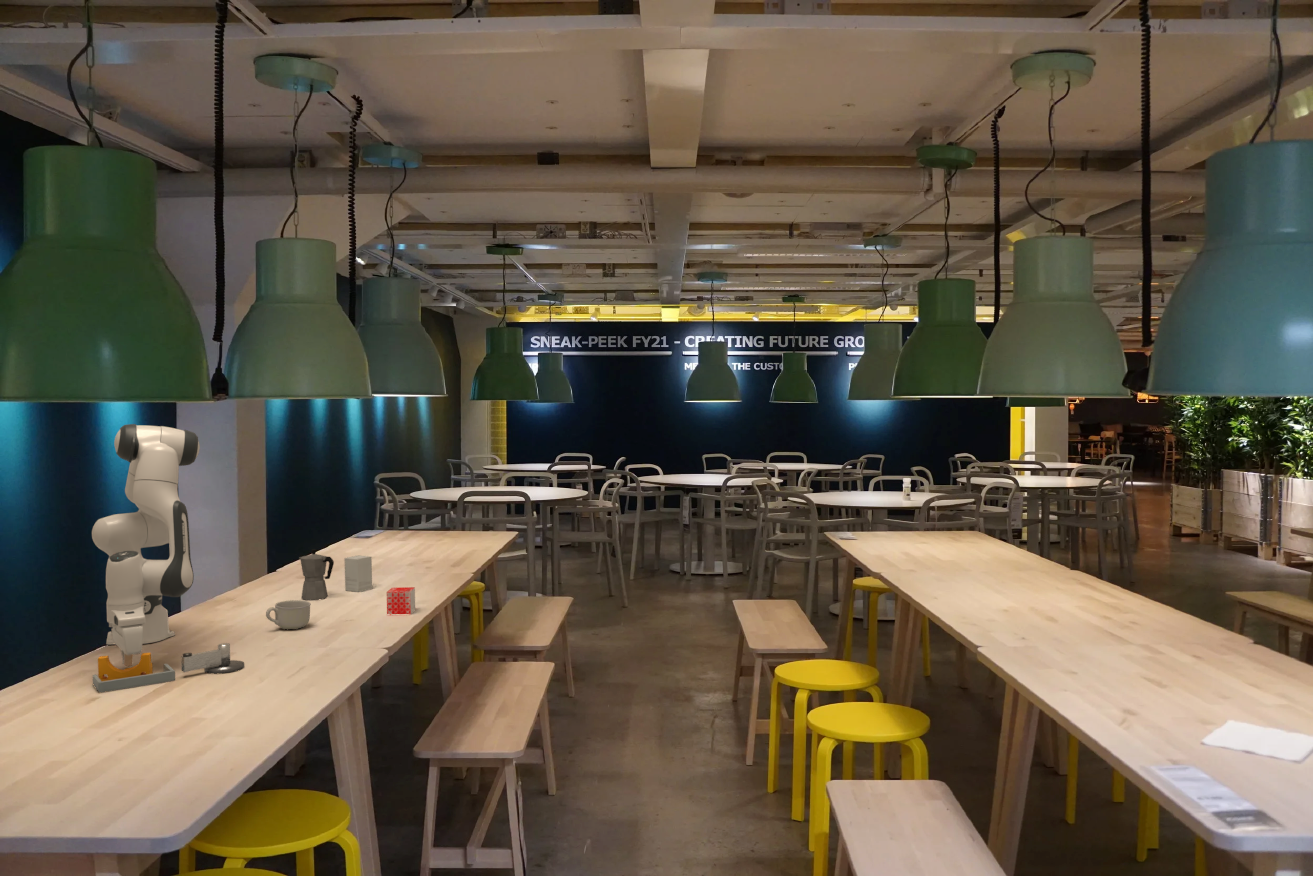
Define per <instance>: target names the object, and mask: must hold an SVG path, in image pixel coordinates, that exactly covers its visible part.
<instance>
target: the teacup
mask: <svg viewBox="0 0 1313 876" xmlns="http://www.w3.org/2000/svg"><path fill="white" fill-rule="evenodd" d="M272 611H274V618H272V616H271V615H270V614H271V612H272ZM310 616H311V602H310V601H308V600H302V599H301V600H300V599H295V600H294V599H293V600H291V599H290V600H283V601H278V602H276V603H275V604H274V606H273V607H269V608H267V610H266V611H265V617H266V619H268V620H269V621H270V622H272V623H274V624H275V625H276V626H278V627H280V629H282V630H285V629H287V630H286V631H289V630H288V629H296V630H299V629H298V628H301V627H303V628H304V627H305V626H306V625H308V624H309V622H310V618H311V617H310ZM301 629H302V628H301Z"/></svg>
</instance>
